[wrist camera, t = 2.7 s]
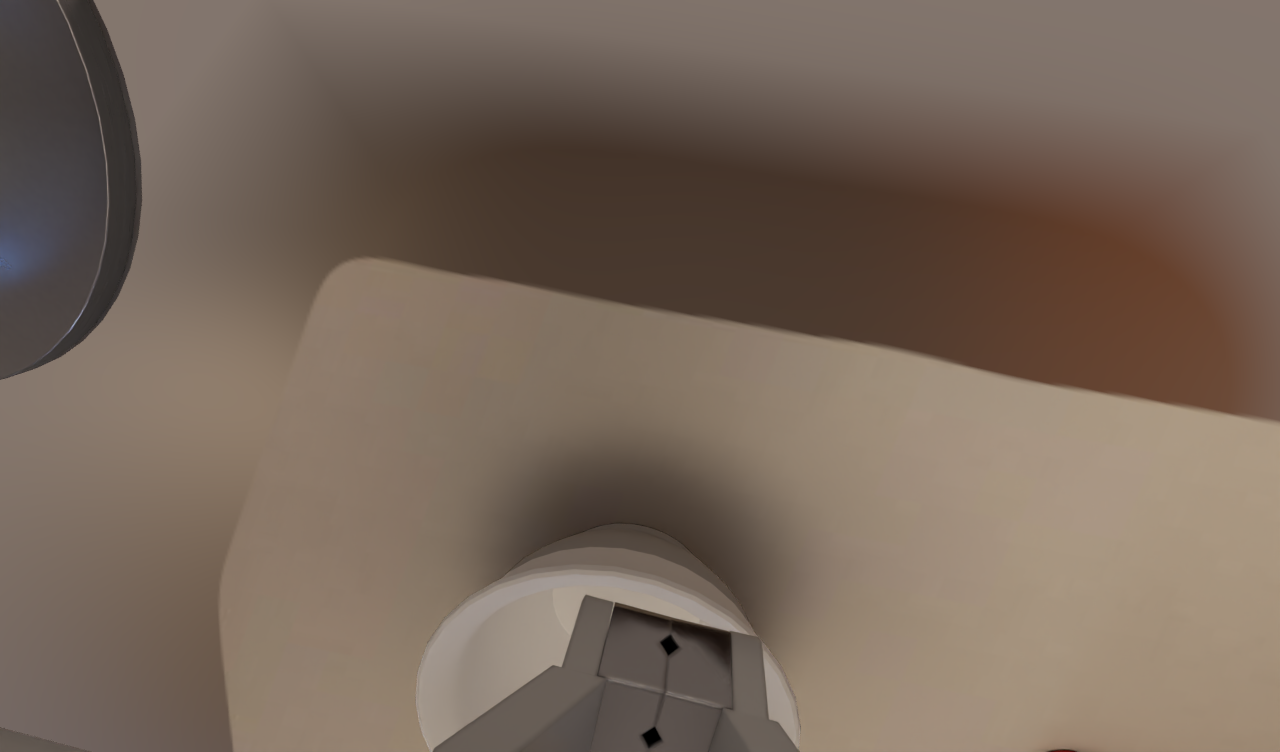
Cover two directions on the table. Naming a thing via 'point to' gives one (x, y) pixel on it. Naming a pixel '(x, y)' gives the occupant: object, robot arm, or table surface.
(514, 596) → the bowl
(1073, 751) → the lever
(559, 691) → the robot arm
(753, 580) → the table surface
